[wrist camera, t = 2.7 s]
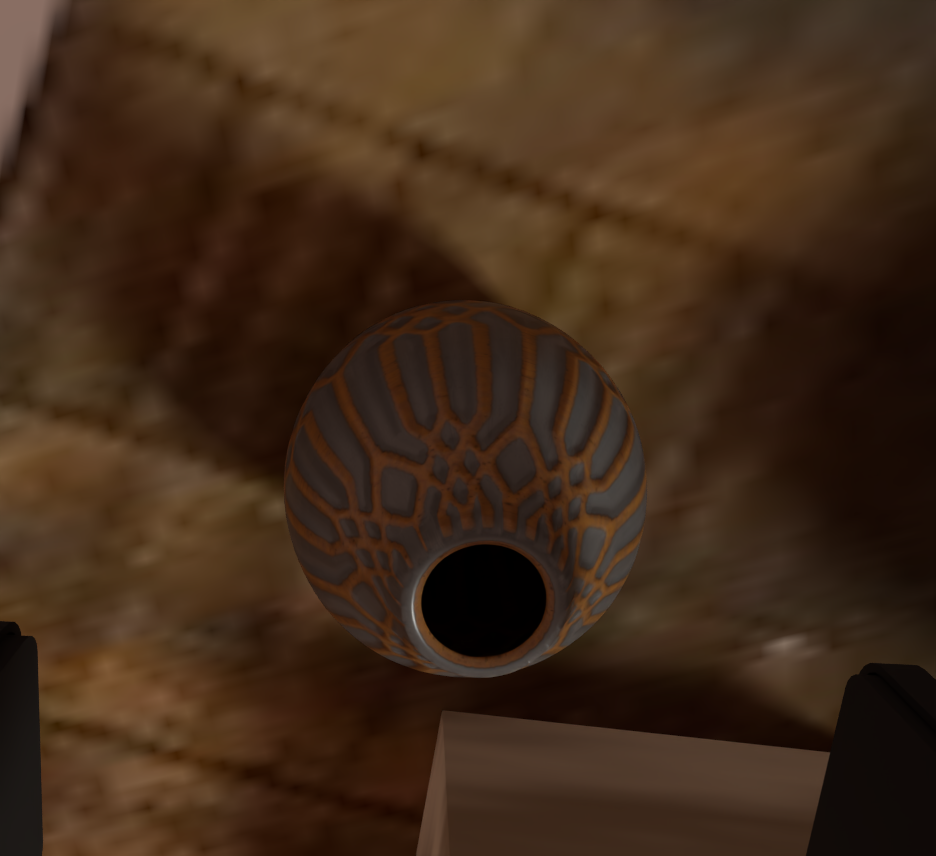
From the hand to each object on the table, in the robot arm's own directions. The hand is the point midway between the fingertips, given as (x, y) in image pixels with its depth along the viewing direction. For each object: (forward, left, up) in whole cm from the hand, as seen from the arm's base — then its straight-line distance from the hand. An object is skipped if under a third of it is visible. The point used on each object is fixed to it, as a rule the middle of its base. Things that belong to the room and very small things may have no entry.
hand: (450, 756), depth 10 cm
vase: (-1, +1, -12) cm, 12 cm away
